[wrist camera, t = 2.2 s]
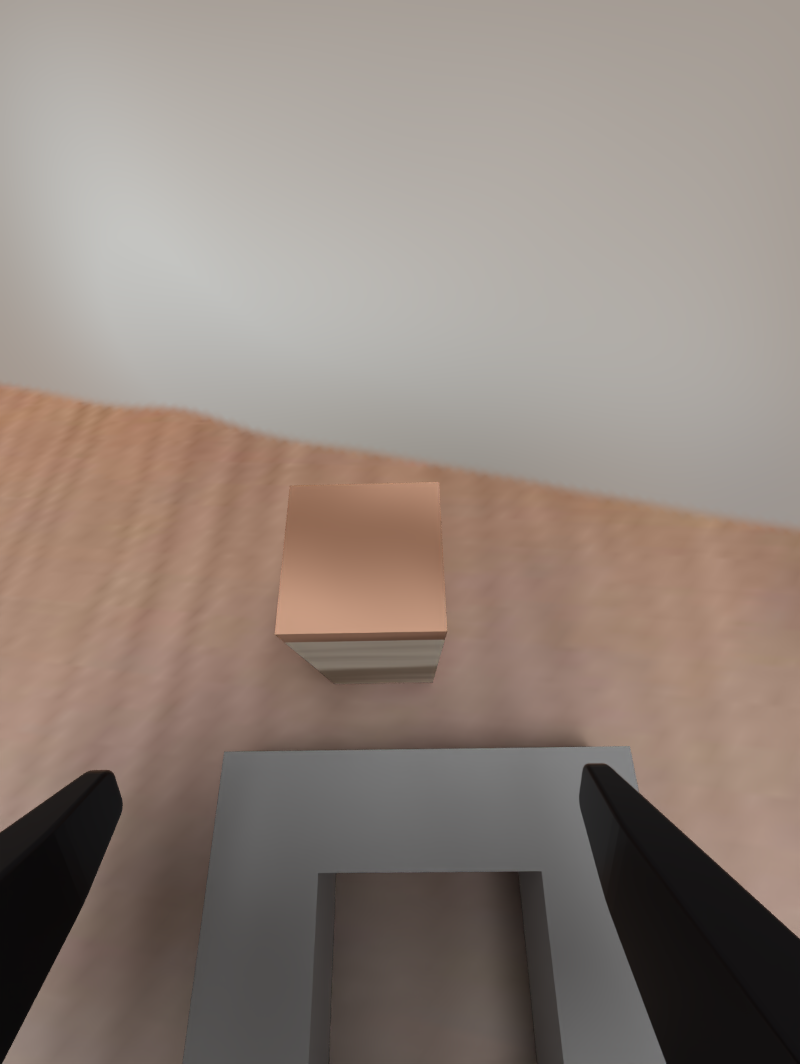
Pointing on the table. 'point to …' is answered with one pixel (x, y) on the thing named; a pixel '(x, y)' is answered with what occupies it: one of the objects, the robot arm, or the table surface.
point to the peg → (364, 581)
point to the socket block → (403, 846)
